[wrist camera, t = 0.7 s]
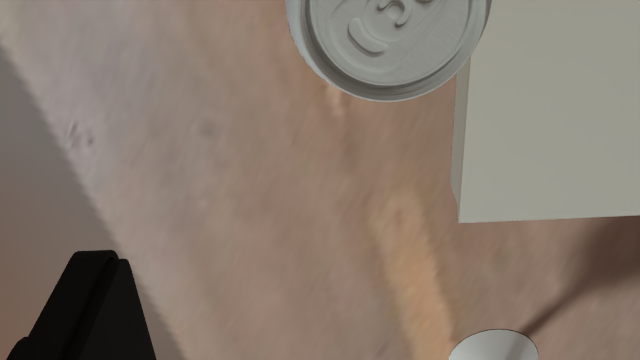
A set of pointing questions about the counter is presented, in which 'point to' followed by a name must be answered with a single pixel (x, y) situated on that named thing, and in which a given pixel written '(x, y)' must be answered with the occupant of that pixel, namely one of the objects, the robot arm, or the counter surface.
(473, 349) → the champagne flute
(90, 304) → the robot arm
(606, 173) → the riser
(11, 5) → the counter surface
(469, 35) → the beer can
